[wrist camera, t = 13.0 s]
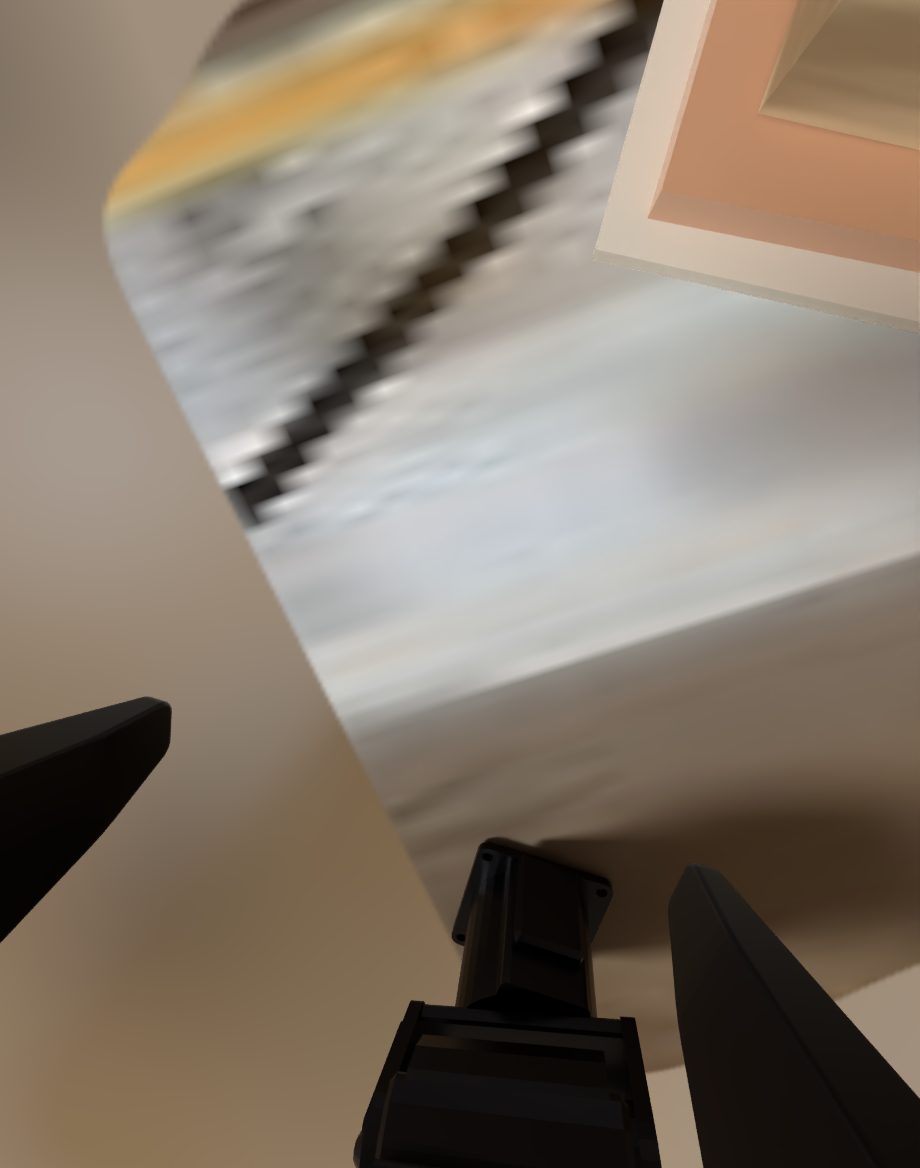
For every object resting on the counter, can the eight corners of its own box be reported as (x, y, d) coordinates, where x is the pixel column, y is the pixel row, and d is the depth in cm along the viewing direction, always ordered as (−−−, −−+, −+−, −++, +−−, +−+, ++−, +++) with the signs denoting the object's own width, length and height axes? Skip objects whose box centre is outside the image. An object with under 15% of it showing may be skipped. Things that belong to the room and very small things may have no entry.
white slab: (913, 340, 17) (959, 331, 15) (589, 267, 18) (594, 248, 16) (1131, -109, 14) (1227, -196, 12) (713, -177, 14) (739, -268, 12)
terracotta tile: (956, 280, 15) (1017, 259, 13) (647, 218, 16) (661, 190, 14) (1162, -153, 12) (1279, -261, 10) (769, -205, 13) (809, -315, 11)
